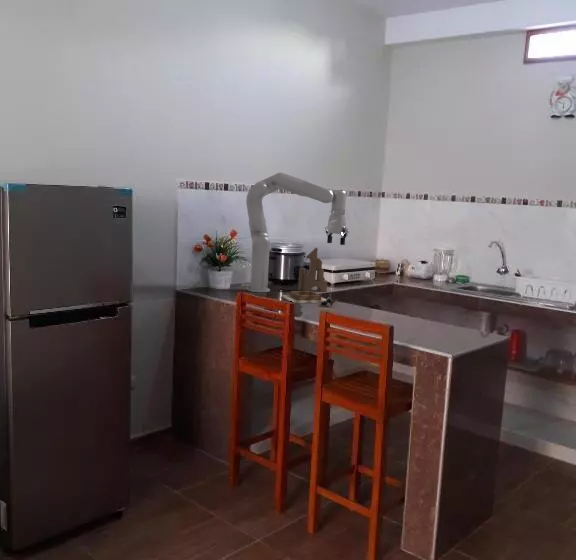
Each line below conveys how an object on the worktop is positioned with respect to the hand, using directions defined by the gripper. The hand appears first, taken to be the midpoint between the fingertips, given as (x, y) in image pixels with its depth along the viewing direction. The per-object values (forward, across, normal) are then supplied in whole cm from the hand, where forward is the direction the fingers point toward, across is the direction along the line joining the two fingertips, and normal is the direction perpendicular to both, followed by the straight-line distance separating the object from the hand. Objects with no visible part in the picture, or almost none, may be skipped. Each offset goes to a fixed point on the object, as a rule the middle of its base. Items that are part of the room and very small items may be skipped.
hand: (335, 243), depth 351 cm
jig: (+28, +6, -28) cm, 40 cm away
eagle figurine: (+29, +23, -28) cm, 46 cm away
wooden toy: (+28, -13, -3) cm, 32 cm away
